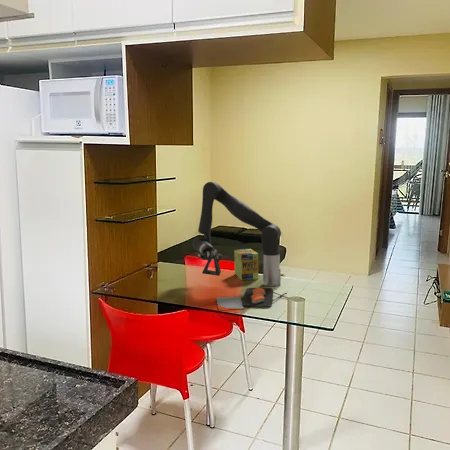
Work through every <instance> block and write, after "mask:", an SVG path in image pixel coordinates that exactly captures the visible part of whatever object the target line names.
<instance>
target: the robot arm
mask: <svg viewBox="0 0 450 450" xmlns="http://www.w3.org/2000/svg"><path fill="white" fill-rule="evenodd" d="M214 201H217V202H218V203H220V204H221V205H223V206H224V207H225V208H226V209H227V211H229V213H230V214H231V215H232V216H233V217H235V218H236V219H237V220H239V221H241V222H242V223H243V224H245V225H249V226H251V227H253V228H255V229H256V230H258V231H260V232H261V236H260V237H261V249H262V283H263V284H262V285H263V286H267V287H278V286H281V276H282V275H281V273H282V271H281V266H280V262H281V259H280V256H281V254H280V253H281V251H280V248H279V239H280V238H281V236H282V231H281V228H280V227H279V226H278V225H277V224H275V223H273V222H271V221H269V220H267V219H266V218H264V217H263V216H262V215H260V214H259V213H258V212H256V210H254V209H253V208H252V207H250V206H249V205H248V204H246V203H244V202H243V201H242V200H240V199H238V198H237V197H235V196H234V195H232V194H230V193H229V192H228V191H227V190H226V189H225V188H223V187H222V186H221V185H220V184H219V183H217V182H213V181H208V182H206V183H204V185H203V188H202V202H201V203H202V204H201V211H200V212H201V213H200V219H199V224H198V231H197V232H198V233H199V234H201V235H204V236H205V237H200V236H197V237H194V238H193V240H192V247H193V249H194V250H195V251H197V252H198V253H197V258H198V259H201V260H203V261H207V262H208V260H209V258H210V253H211V251H212V250H213V249H214V250H213V252H212V253H213V254H215V253H214V251H215V249H216V248H214V247H213V245H212V241H211V230H212V226H213V206H214ZM223 257H224V256H223V253H222V252H221V253H218V252H217V262H219V263H220V261H221V260H223ZM212 260H213V261H214V259H213V258H212V259H211V261H210V263H212Z"/></svg>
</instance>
